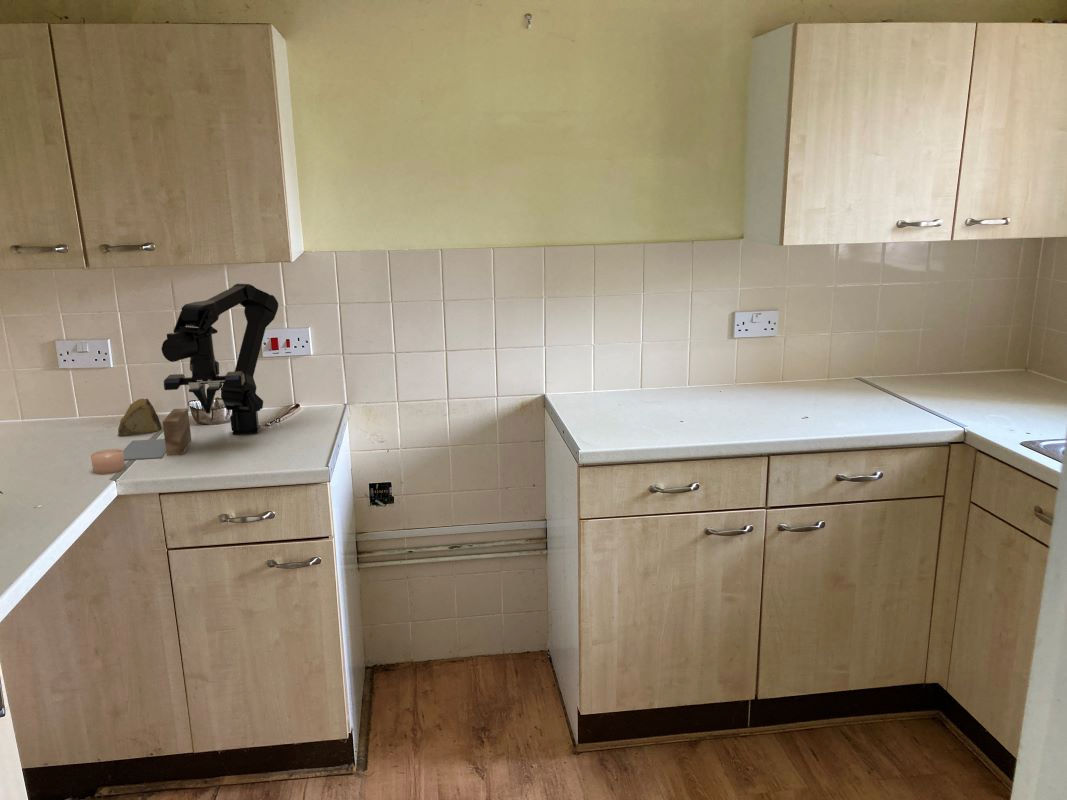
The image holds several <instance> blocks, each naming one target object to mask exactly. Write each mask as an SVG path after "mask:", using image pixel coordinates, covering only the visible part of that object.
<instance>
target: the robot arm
mask: <svg viewBox="0 0 1067 800" xmlns="http://www.w3.org/2000/svg"><path fill="white" fill-rule="evenodd" d="M238 305H240V306H242V308H244V312H243V313H244V317H245V319H246V322H247V323H246V326H245V331H244V333H243V334H244V335H243V338H242V341H241V345H240V349H239V354H238V356H237V361H236V365H235V369H234V371H228V372H227V373H226V374H225V375H220V362H219V361H218V360H216V356H215V352H214V341H213V335H215V334H218V332H219V331H218V329H216V328H214V326H213V325H214V324H215V323H216V322H217V321H219V317H220V315H222V314H223V313H225V312H227V311H228V310H230V309H232V308H234V307H235V306H236V307H237V306H238ZM278 309H279V302H278V300H277V298H276V297H275V296H274V295H273V294H269V293H268V292H266V291H263V290H262V289H258V288H256V287H255V286H254V285H252V284H249V283H236V284H234V285H233V286H231V287H230V288H227V289H226V290H224V291H222V292H220V293H218V294H216V295H214V296H212V297H210V298H208V299H206V300H201V301H194V302H189V303H185V304H184V305H183V306H181V310H180V314H179V316H178V317H177V321H176V323H175V326H174V328H173V332H169V333H166V339H165V340H163V342H162V345H161V352H162V356H163V357H164V358H165V360H167V361H168V362H171V363H174V362H175V363H176V362H178V361H183V360H185V359H189V369H190V372H191V376H190V377H185V375H184V373H179V374H175V373H174V374H169V375H168V376H167V377H166V378H164V380H163V389H164V390H165V391H173V390H178V389H179V388H180V387H181V386H188V387H189V389H188V392H189V393H192V394H193V395H194V396H195V397H196V399H197V400H198V401H199V404H201V406H202V408H203V410H204V411H205V413H206V414H210V413H211V412H212V408H213V404H214V400H215V395H216V394H217V393H216V392H218V391H221V393H220V396H221V397H220V398H221V399H222V402H223V405H224V407H225V409H226V411H231V415H230V417H229V418H230V427H231V429H230V430H231V432H232V435H246V434H247V435H248V434H257V433H259V430H260V428H261V425H260V424H259V412H260V411H261V410H262V409H263V408H264V407H263V406H264V400H263V399H262V397H260V396H259V395H258V394H257V385H256V382H255V379H254V376H255V371H256V367H257V363H258V359H259V356H260V353H261V352H260V351H261V347H262V344H263V340H264V336H265V332H266V329H267V327H268V326H269V325H271V323H272V322H273V321H274V320H275V317H276V315H277V313H278ZM206 385H208V387H207V389H206Z"/></svg>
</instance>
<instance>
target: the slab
mask: <svg viewBox="0 0 1067 800" xmlns="http://www.w3.org/2000/svg"><path fill="white" fill-rule="evenodd" d="M190 425H191V424H190V416H189V408H187V407H186V408H173V409H172V410H171V411H170V413H168V415H167V416H166V417H165V418H164V419H163V420H162V428H163V435H164V439H165V445H166V453H165V454H166V457H168V456H182V455H183V453H184V452H185V451H186V450H187V448H188V446H189V445H190V443H191V442H192V433H191V426H190Z"/></svg>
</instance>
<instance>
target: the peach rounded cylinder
mask: <svg viewBox="0 0 1067 800" xmlns="http://www.w3.org/2000/svg"><path fill="white" fill-rule="evenodd" d="M125 461H126V460H124V454H123V450H122V449H119V448H109V449H103V450H99V451H96V452H93V453H92V454H91V455H90V462H91V467H92V473H94V474H96V475H97V474H98V475H107V474H108V475H109V474H115V473H118V472H121V471H123V470H125V469H126V462H125Z"/></svg>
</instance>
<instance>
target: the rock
mask: <svg viewBox="0 0 1067 800" xmlns="http://www.w3.org/2000/svg"><path fill="white" fill-rule="evenodd" d="M162 428H163V425H162V423H161V421H160V418H159V415H158V414H157V411H156V409H155V408H154V406H153V405H152V403H151V402H150V401H149V399H148V398H139V399H136V401H134V402H132V403H130V404H129V407H128V408H127V410H126V412H125V414H124V415H123V416H122V417H121V419H120V421H119V425H118V428H117V435H118V436H119V437H120V436H122V437H123V436H131V435H133V436H134V435H141V434H148V433H155V432H157V431H160V430H162Z"/></svg>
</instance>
